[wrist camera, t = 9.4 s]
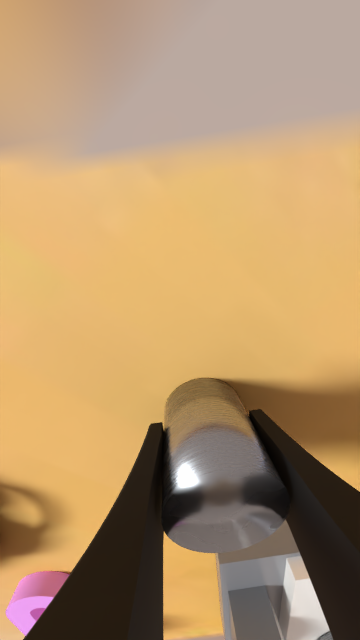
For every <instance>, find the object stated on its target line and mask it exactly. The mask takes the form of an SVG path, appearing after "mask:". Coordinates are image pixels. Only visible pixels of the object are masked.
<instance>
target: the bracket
mask: <svg viewBox="0 0 360 640" xmlns="http://www.w3.org/2000/svg"><path fill="white" fill-rule="evenodd" d="M69 575H70V574H67V573H63V572H57V571H43V572H36V573H33V574H30V575H28V576H26V577H24V578H23V579H22V580H21V581H20V582H19V584H18V586H17V588H16V590H15V592H14V594H13V596H12V599H11V601H10V603H9V605H8V607H7V609H6V616H7V618H8V619H9V620H10V621H11V622H12V623H13V624H14V625H15V626H16V627H17V628H18V629H19V630H20V631H21V632H22V633H23V634H24V635H25V636H26V635H27V633H28V632H29V631H30V629H31V628H32V627H33V625H34V624H35V623H36V621H37V620H38V619H39V617H40V616H41V614H42V613H43V612H44V610H45V609H46V608H47V606H48V605H49V604H50V602H51V601H52V599H53V598H54V597H55V595H56V594H57V592H58V591H59V590H60V588H61V587H62V585H63V584H64V582H65V581H66V579H67V578H68V576H69Z"/></svg>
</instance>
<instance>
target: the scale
mask: <svg viewBox="0 0 360 640" xmlns="http://www.w3.org/2000/svg"><path fill="white" fill-rule="evenodd" d="M216 565H217V576H218V587H219V598H220V609H221V618H222V625H223V632H224V639H225V640H319V639H320V638H321V637H323V636H324V635H326V634H328V633H329V632H330V630H329V627H328V624H327V622H326V619H325V617H324V614H323V611H322V609H321V606H320V603H319V601H318V598H317V595H316V593H315V590H314V588H313V585H312V583H311V580H310V578H309V575H308V573H307V570H306V567H305V565H304V562H303V560H302V557H301V555H300V552H299V550H298V547H297V545H296V543H295V540H294V538H293V535H292V533H291V530H290V528H289V525H288V523H287V521H286V519H285V521H284V522H283V524H282V525H281V526H280V527H279V528H278V529H277V530H276V531H275V532H274V533H273V534H271V535H270V536H269V537H267V538H266V539H264V540H262V541H260V542H258V543H256V544H254V545H252V546H249V547H246V548H243V549H240V550H236V551H230V552H223V553H216Z"/></svg>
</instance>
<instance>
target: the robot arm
mask: <svg viewBox="0 0 360 640" xmlns="http://www.w3.org/2000/svg"><path fill="white" fill-rule="evenodd" d="M249 418H250V420H251V422H252V424H253V426H254V428H255V429H256V431H257V433H258V435H259V437H260V439H261V441H262V443H263V445H264V447H265V449H266V451H267V453H268V455H269V457H270V458H271V460H272V462H273V464H274V466H275V468H276V470H277V472H278V474H279V476H280V478H281V480H282V482H283V484H284V485H285V487H286V489H287V491H288V494H289V497H290V509H289V513H288V515H287V518H286V521H287V523H288V525H289V528H290V530H291V533H292V535H293V538H294V540H295V543H296V545H297V547H298V550H299V552H300V555H301V557H302V560H303V562H304V565H305V567H306V570H307V573H308V575H309V578H310V580H311V583H312V585H313V588H314V590H315V593H316V595H317V598H318V601H319V603H320V606H321V609H322V611H323V614H324V617H325V619H326V622H327V624H328V627H329V630H330V632H331V635H332V638H333V640H360V492H359V491H358V490H356V489H355V488H353V487H352V486H351V485H349V484H348V483H346V482H345V481H344V480H342V479H341V478H340V477H338V476H337V475H336V474H334V473H333V472H332V471H330V470H329V469H328V468H327V467H325V466H324V465H323V464H321V463H320V462H319V461H318V460H317V459H315V458H314V457H313V456H312V455H310V454H309V453H308V452H307V451H306V450H304V449H303V448H302V447H301V446H300V445H299V444H298V443H296V442H295V441H294V440H293V439H292V438H291V437H290V436H288V435H287V434H286V433H285V432H284V431H283V430H282V429H281V428H280V427H279V426H278V425H276V424H275V423H274V422H273V421H272V420H271V419H270V418H269V417H268V416H267V415H266V414H265V413H264V412H263V411H262V410H261V409H258V410H251V411H249ZM163 445H164V430H163V424H162V422H161V423H153V424H151V425H150V426H149V429H148V432H147V435H146V437H145V440H144V443H143V445H142V447H141V450H140V452H139V455H138V457H137V459H136V461H135V464H134V466H133V468H132V470H131V472H130V474H129V476H128V478H127V480H126V482H125V484H124V486H123V488H122V490H121V492H120V494H119V496H118V498H117V500H116V501H115V503H114V505H113V507H112V508H111V510H110V512H109V514H108V515H107V517H106V519H105V521H104V522H103V524H102V525H101V527H100V529H99V530H98V532H97V534H96V535H95V537H94V539H93V540H92V542H91V543H90V545H89V546H88V548H87V550H86V551H85V553H84V554H83V556H82V557H81V559H80V560H79V562H78V563H77V565H76V566H75V568H74V569H73V570H72V572H71V573H70V575H69V576H68V578H67V579H66V581H65V582H64V584H63V585H62V587H61V588H60V590H59V591H58V592H57V594H56V595H55V597H54V598H53V599H52V601H51V602H50V604H49V605H48V606H47V608H46V609H45V610H44V612H43V613H42V614H41V616H40V617H39V619H38V620H37V621H36V623H35V624H34V625H33V627H32V628H31V629H30V631H29V632H28V633H27V635H26V636H25V638H24V639H23V640H163V535H164V530H163V527H162V523H161V508H162V476H163Z"/></svg>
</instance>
